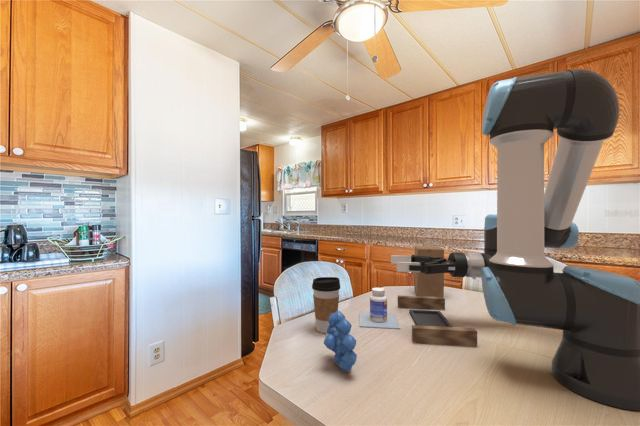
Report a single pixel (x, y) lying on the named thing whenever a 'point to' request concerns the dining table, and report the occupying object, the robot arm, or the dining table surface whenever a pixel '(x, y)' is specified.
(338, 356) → the grapes
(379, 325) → the pad
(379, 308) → the pill bottle
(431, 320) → the tray
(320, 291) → the coffee cup
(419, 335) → the walnut lane walls
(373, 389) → the dining table surface
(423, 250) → the wooden block
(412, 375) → the dining table surface
